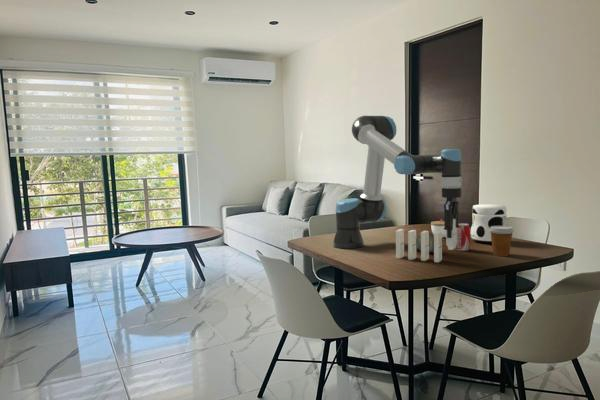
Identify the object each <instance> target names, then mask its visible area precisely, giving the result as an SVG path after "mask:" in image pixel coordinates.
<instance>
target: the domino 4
mask: <svg viewBox="0 0 600 400" xmlns="http://www.w3.org/2000/svg"><path fill="white" fill-rule="evenodd" d="M433 236H434V252H433V261H434V263H440V262H441V261H442V260H443V238H442V232H438V231H437V232H436V233H434V234H433Z"/></svg>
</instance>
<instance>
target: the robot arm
mask: <svg viewBox="0 0 600 400" xmlns="http://www.w3.org/2000/svg"><path fill="white" fill-rule="evenodd" d="M351 125H352V126H351V134H352V136H353V138H354V139H355V140H356V141H357V142H359V143H360V144H362V145H367V146H368V148H367V158H366V166H365V174H364V184H363V193H361V194H360V195H359V198H353V197H351V198H345V199H341V200H338V201H336V204H335V219H336V221H335V223H336V225H335V226H336V228H335V229H336V230H335V231H336V232H335V235H334V237H333V238H334V239H333V240H332V241H333V248H336V249H337V248H338V249H346V250H347V249H358V248H363V247H364V245H365V243H364V242H365V241H364V239H363V236H362V233H361V228H360V227H361V224H369V223H377V222H380V221H382V220H383V219H384V218H385V216H386V214H387V206H386V202H385V201H384V197H383V196H382V195H381V191H382V183H383V175H384V168H385V160H386V161H388V162H390V163H391V164H393V168H394V170H395V172H396V173H397V174H399V175H404V176H405V175H406V176H407V175H408V176H409V175H417V174H432V173H433V174H438V173H439V174H440V173H441V197H442V198H445V199H446V201H445V203H444V205H443V209H444V215H443V217H444V220H443V221H444V223H445V227H444V230H446V237H445V239H446V240H445V241H446V243H445V245H446V246H447V247H448V246H454V230H453V219H456V227H459V222H460V221H459V218H460V217H459V204H460V202H459V201H458V200H457V199H458V198H461V197H462V188H461V187H462V182H463V181H464V180H463V178H462V152H461V149H460V148H451V149H450V148H445V149H441V153H440V154H419V155H417V154H416V155H413V154H411V153H410V152H408V150H405V149H404V148H402V147H401V146H399V144H396V143H395V142H394V141H392V140H394V138H395V137H396V134H397V125H396V122H395V121H394V119H393V118H392V117H390V116H388V115H387V116H385V115H361V116H358V117H357V118H356V119H355V120H354V121H353V123H352V124H351ZM456 244H457V228H456Z"/></svg>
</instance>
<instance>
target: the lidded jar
mask: <svg viewBox="0 0 600 400" xmlns="http://www.w3.org/2000/svg"><path fill="white" fill-rule="evenodd" d="M430 226H431V228H430V229H431V232H432V235H434V233H436V232H437V231H438V232H442V239H443V238H446V230H444V227H445V223H444V220H443V218H441V219H440V220H437V221H436V220H435V221H434V220H433V221H431V222H430Z"/></svg>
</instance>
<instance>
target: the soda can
mask: <svg viewBox="0 0 600 400" xmlns="http://www.w3.org/2000/svg"><path fill="white" fill-rule="evenodd" d="M456 228H457V244H456V248H455V249H454V250H456V251H459V252H467V251H469V250H470V249H471V226H470V225H469V223H465V222H463V223H462V222H460V223H459V227H456Z"/></svg>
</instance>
